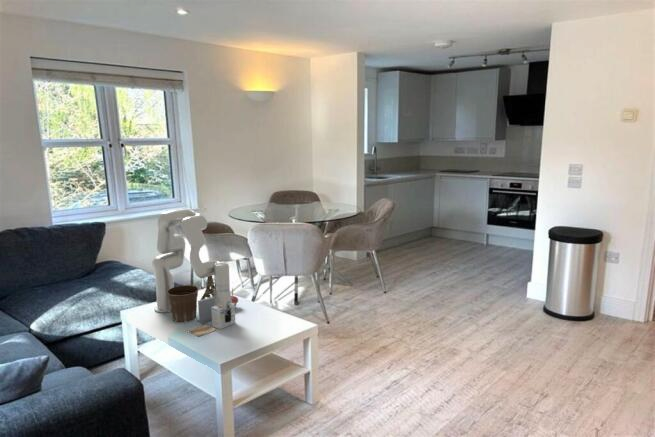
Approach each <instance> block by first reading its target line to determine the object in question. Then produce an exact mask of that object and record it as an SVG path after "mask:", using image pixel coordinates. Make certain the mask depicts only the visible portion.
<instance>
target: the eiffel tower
mask: <svg viewBox="0 0 655 437" xmlns="http://www.w3.org/2000/svg"><path fill="white" fill-rule="evenodd" d="M206 281H207V282H206V283H205V285H206V287H205V290H204V293H203V295H202V296H201V298H200V300H203V299H206V298H210V297H213V296H214V289H215V282H214V278H213V275H212V276H209V277H207V280H206ZM200 300H198V301H200Z"/></svg>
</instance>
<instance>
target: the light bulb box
mask: <svg viewBox="0 0 655 437" xmlns="http://www.w3.org/2000/svg"><path fill="white" fill-rule="evenodd" d="M232 307H233V309H234V310H233V311H232V314H231V321H230V322H227V323H226V322H225V315H226V313H225V311H223V308H221V307H218V306H214V307H211V311H212V321H211V323H212V324H211V327H212V328H214V329H218V330H222V329H225V328H227V327H229V326H231V325H234V324H236V307H235V304H234V303H232ZM228 308H229V307H227V309H228ZM228 311H229V310H227V312H228Z"/></svg>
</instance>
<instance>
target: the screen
mask: <svg viewBox="0 0 655 437" xmlns="http://www.w3.org/2000/svg"><path fill="white" fill-rule="evenodd" d="M213 299H214V296H213V297H212V296H209V297H205V299H203V300H201V299H200V301H199V300H197V306H198V307H197V308H198V309H197V310H198V319H197V323H198V322H199V323H198V324H201V325H204V324H205V325H206V324H208V323H210V322H211V323H212V311H211V307H214V304H213Z"/></svg>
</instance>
